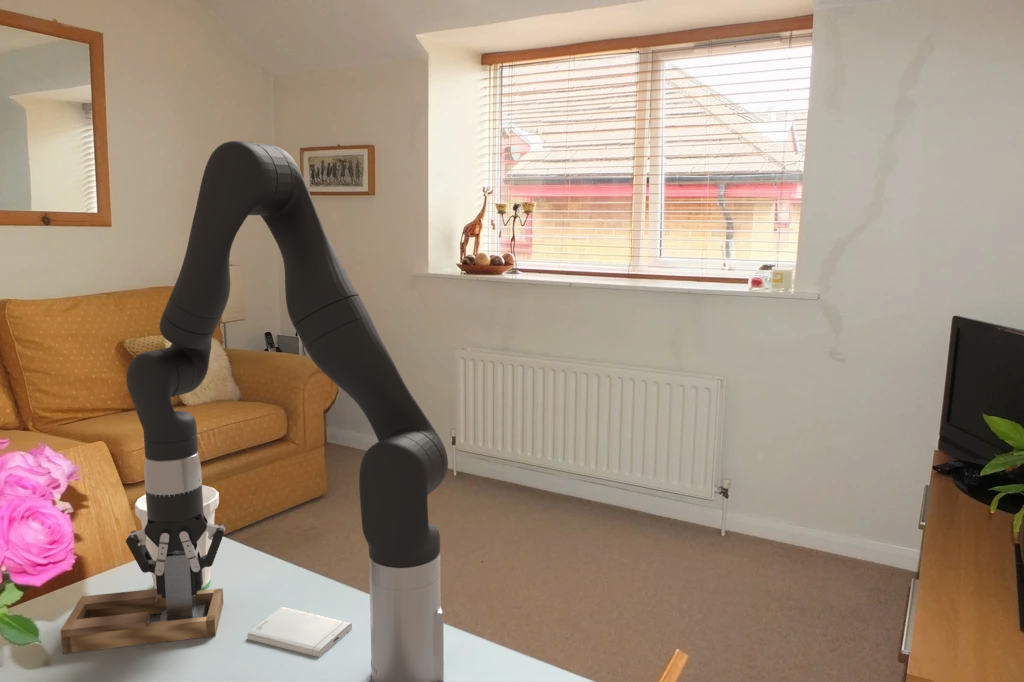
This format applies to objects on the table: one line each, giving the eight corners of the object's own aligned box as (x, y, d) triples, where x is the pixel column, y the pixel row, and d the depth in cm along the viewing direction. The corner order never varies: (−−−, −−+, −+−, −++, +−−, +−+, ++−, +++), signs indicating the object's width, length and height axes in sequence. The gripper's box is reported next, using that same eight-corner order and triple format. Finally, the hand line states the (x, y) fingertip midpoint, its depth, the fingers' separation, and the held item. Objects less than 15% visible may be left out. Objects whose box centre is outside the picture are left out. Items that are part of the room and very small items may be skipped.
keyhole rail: (223, 602, 120) (222, 582, 119) (215, 635, 110) (214, 613, 110) (83, 617, 115) (81, 596, 114) (62, 653, 106) (60, 630, 105)
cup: (127, 587, 124) (120, 499, 122) (199, 562, 134) (195, 479, 131) (163, 613, 116) (157, 519, 114) (238, 584, 126) (233, 496, 123)
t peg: (206, 610, 118) (203, 541, 116) (200, 629, 112) (197, 557, 110) (164, 614, 116) (160, 545, 115) (156, 634, 110) (152, 561, 109)
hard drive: (246, 632, 110) (319, 649, 105) (283, 605, 117) (352, 620, 113) (247, 642, 110) (319, 660, 106) (283, 615, 117) (352, 631, 113)
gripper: (113, 496, 105) (122, 612, 108) (222, 488, 108) (228, 601, 111) (126, 478, 112) (134, 587, 115) (228, 471, 116) (233, 577, 118)
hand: (180, 593), depth 113 cm, fingers closed on t peg, 3 cm apart
